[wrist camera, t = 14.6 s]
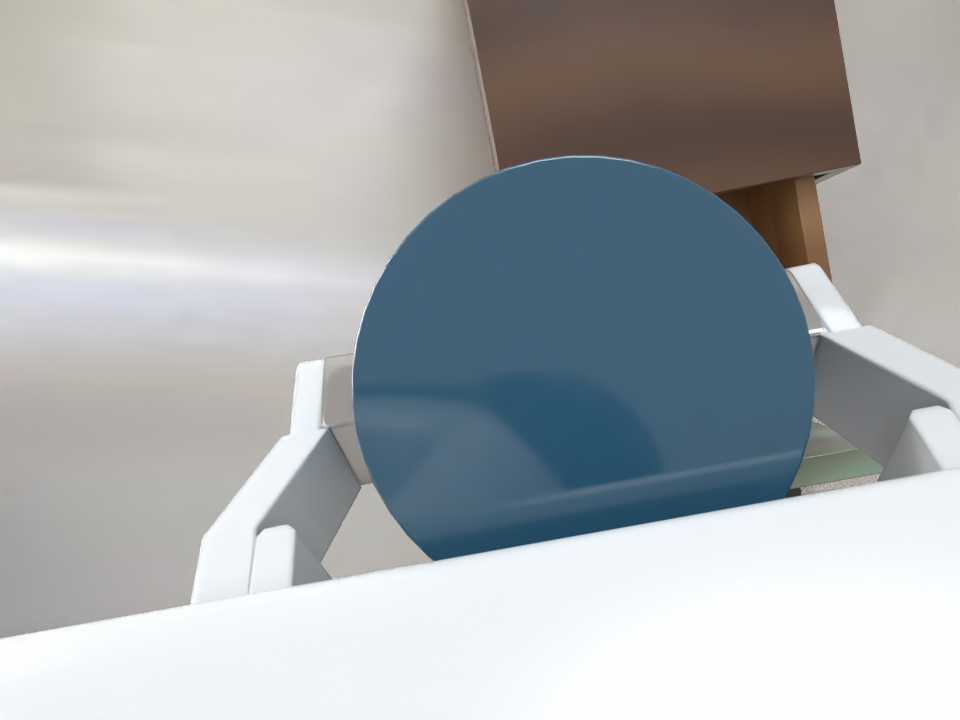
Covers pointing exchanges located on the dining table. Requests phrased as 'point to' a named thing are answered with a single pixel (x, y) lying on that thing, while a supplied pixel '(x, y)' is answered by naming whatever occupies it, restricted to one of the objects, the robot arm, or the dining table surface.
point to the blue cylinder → (579, 360)
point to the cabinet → (668, 86)
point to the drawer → (799, 241)
